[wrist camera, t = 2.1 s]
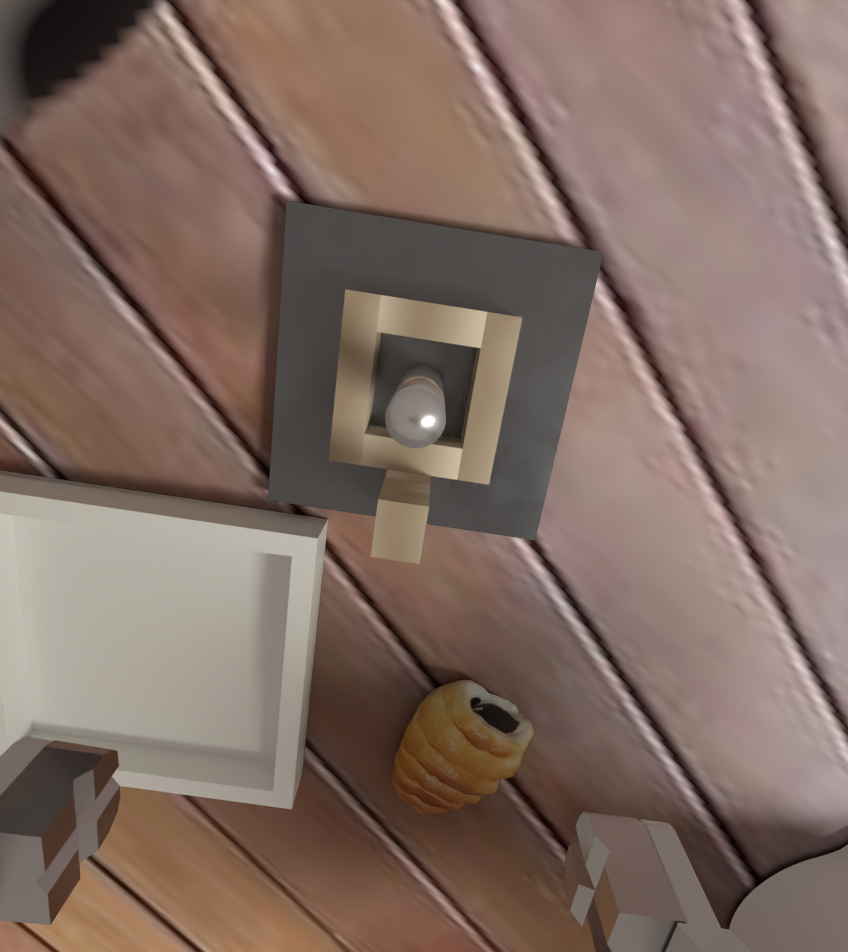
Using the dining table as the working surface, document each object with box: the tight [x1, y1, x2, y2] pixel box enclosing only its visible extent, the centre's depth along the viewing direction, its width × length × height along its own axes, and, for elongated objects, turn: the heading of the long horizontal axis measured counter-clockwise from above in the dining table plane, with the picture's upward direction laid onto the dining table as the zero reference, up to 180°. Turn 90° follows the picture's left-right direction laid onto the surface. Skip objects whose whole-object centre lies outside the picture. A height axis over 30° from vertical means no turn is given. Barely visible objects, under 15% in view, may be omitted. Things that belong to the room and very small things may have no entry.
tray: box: [0, 470, 328, 809], centre depth 29 cm, size 18×18×2 cm
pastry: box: [392, 680, 534, 815], centre depth 31 cm, size 9×7×4 cm
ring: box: [329, 289, 522, 564], centre depth 22 cm, size 8×10×6 cm
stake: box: [268, 201, 603, 540], centre depth 21 cm, size 14×14×9 cm
